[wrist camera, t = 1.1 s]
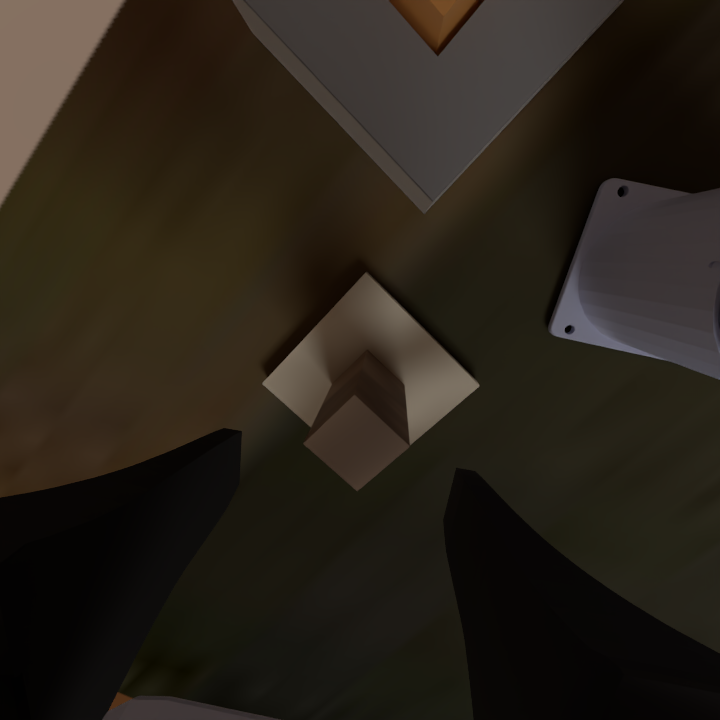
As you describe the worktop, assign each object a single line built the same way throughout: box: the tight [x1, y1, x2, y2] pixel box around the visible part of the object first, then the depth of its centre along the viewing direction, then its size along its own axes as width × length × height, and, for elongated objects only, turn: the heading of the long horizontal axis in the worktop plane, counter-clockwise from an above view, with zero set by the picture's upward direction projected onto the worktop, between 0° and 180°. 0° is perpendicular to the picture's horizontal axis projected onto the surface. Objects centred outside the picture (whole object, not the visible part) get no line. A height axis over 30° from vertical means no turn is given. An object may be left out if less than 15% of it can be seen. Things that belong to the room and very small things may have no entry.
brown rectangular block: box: [303, 350, 410, 491], centre depth 17 cm, size 3×3×7 cm
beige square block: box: [262, 272, 480, 445], centre depth 21 cm, size 9×9×1 cm
